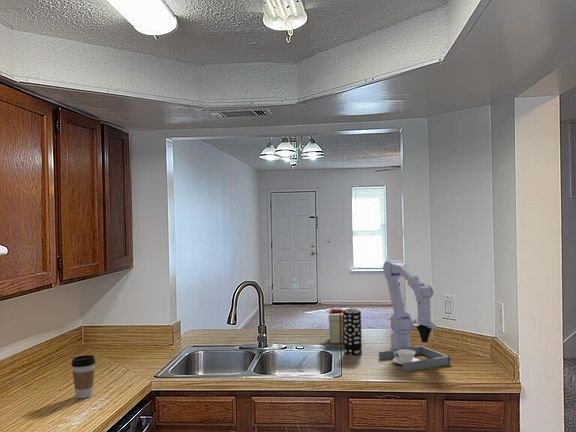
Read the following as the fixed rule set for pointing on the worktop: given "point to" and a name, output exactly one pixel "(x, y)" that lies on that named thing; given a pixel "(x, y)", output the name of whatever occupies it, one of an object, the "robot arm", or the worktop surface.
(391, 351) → the cubby
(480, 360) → the worktop surface
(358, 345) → the spotted tube
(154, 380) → the worktop surface
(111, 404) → the worktop surface
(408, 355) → the teacup
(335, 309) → the gift box
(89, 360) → the coffee cup
